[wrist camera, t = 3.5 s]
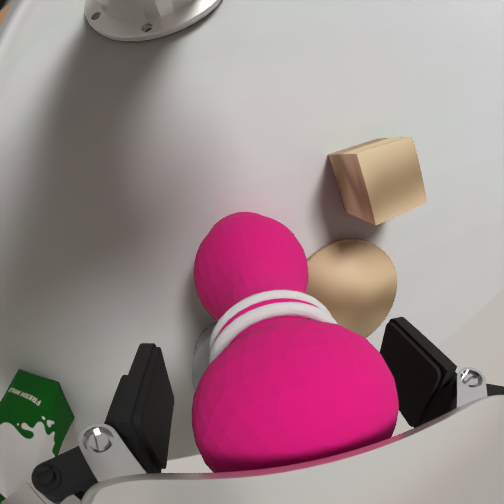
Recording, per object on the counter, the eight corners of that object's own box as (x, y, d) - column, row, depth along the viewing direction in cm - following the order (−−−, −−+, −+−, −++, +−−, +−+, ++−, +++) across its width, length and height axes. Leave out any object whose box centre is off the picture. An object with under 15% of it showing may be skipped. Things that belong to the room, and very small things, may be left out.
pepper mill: (303, 226, 22) (518, 420, 3) (266, 303, 24) (352, 544, 5) (219, 190, 20) (247, 479, 1) (185, 274, 22) (140, 553, 3)
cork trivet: (287, 242, 22) (290, 245, 21) (399, 236, 23) (404, 238, 23) (284, 352, 26) (286, 357, 25) (382, 335, 27) (385, 339, 26)
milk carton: (62, 377, 24) (4, 513, 5) (82, 423, 27) (49, 540, 8) (12, 361, 23) (-53, 469, 4) (34, 407, 25) (-9, 507, 7)
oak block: (327, 154, 20) (356, 153, 16) (376, 139, 20) (411, 136, 16) (345, 212, 22) (375, 225, 17) (391, 193, 22) (426, 202, 17)
